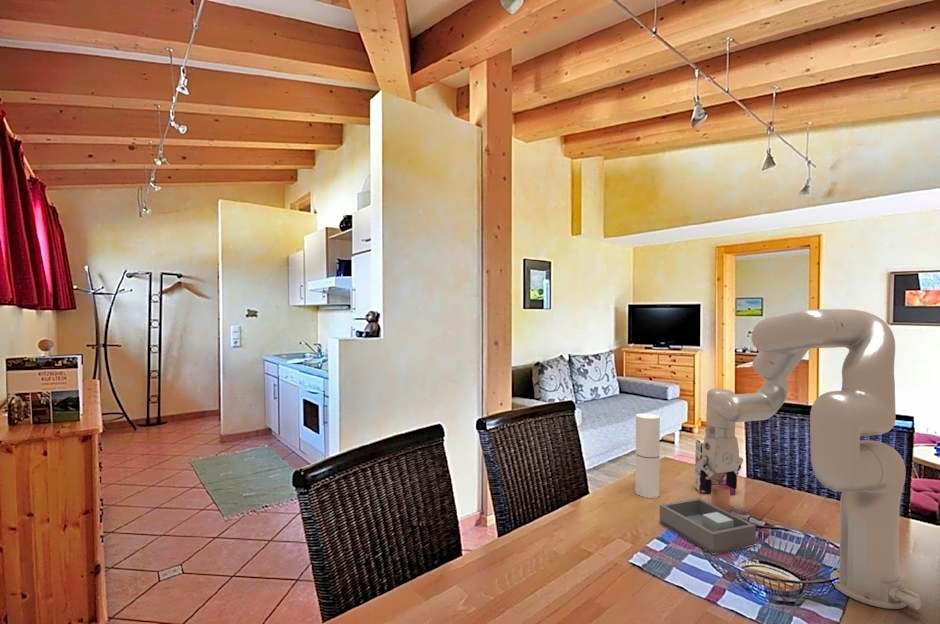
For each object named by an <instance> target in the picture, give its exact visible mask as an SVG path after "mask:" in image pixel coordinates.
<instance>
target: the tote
mask: <svg viewBox="0 0 940 624" xmlns="http://www.w3.org/2000/svg"><path fill="white" fill-rule="evenodd" d="M714 512H718V513H720V514H722V515H724V516H726V517H728V518H730V519H732V520H734V526H733V528H729V529H724V530H719V531H714V532H712V531H710V530H709V529H707V528H705V527H703V526H702V515H703V514H709V513H714ZM659 524H661V525H663V526H664V527H666V528H667V529H669V530H671V531H672V532H674V533H675V534H678V536H679V535H680V537H682V538H684V539H686V540H687V541H689V542H691V543H692V544H694V545H696V546H697V547H699V546H701V547H702V548H704V549H706V550H707V551H709V552H711V553H713V554H714V553H719V554H724V553H727V552H731V551H732V550H733V551H736V550H735V549H737V550H741V549H740V548H742V547H746V546H749V545H754V544H756V542H757V541H756V539H757V536H756V535H757V529H756V528H757V525H755V524H753V523H751V522H749V521H747V520H745V519H743V518H741V517H738V516H736V515H735V514H732V513H731V512H730V513H729V512H727V511H724V510H722V509H720V508H718V507H716V506H714V505H712V504H711V502H708V501H706V500H703V498H699V497H698V498H691V499H688V500H687V499H685V500H680V501H674V502H668V503H663V504H659ZM756 545H757V544H756ZM702 548H701V549H702ZM738 548H739V549H738ZM746 548H747V547H746ZM704 549H703V550H704ZM742 549H743V548H742ZM707 551H706V552H707ZM709 552H708V553H709ZM723 552H724V553H723Z"/></svg>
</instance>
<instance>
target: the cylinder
mask: <svg viewBox="0 0 940 624" xmlns="http://www.w3.org/2000/svg"><path fill="white" fill-rule="evenodd" d="M710 504H712V505H714V506H716V507H718V508H720V509H722V510H724V511H727V512H729V513H731V495H730V489H729V488H728V487H726V486H722V485H712V486H711V494H710Z"/></svg>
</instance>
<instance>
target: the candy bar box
mask: <svg viewBox="0 0 940 624" xmlns="http://www.w3.org/2000/svg"><path fill="white" fill-rule="evenodd" d="M703 443H704V439H695V451H694V453H695V459H694V460H695V463H697V462H698V461H699V460H701V459H702V450H703ZM695 463H694V464H695ZM702 468H703V467H702ZM694 472H695V473H694V489H695V490H696V491H697V492H698V493H699V494H709V495H711V493H707V492H705V491H703V490H701V476H699V474H698V472H697V469H696V467H695V466H694ZM708 472H709V471H706V474H707V473H708ZM726 473H727V472H726ZM726 473H718V474H716V473H713V474H712V476H711V477H710V479H711V481H712V483H711V486H712V485H722V486H726V487H728V488H729V489H730V496H731V495H732V496H735V495H736V489H733V488H731V487H729V486H727V485H726Z"/></svg>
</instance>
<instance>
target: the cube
mask: <svg viewBox="0 0 940 624" xmlns="http://www.w3.org/2000/svg"><path fill="white" fill-rule="evenodd" d="M702 526H703V527H705V528H707V529H709V530H710V531H712V532H714V531H719V530H724V529H729V528H733V526H734V520H732V519H730V518H728V517H726V516H724V515H722V514H720V513H718V512H714V513H709V514H703V515H702Z"/></svg>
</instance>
